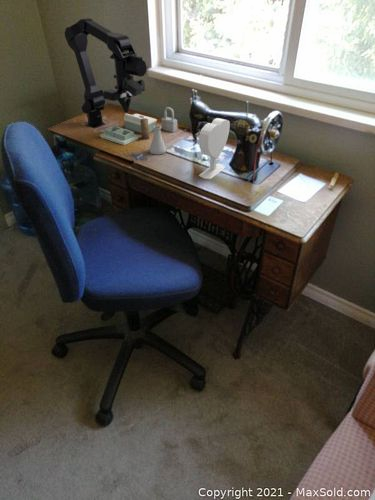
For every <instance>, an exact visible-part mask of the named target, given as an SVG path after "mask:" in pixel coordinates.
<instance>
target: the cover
mask: <svg viewBox="0 0 375 500" xmlns="http://www.w3.org/2000/svg"><path fill="white" fill-rule="evenodd" d="M143 118H146V119H148V125H149V124H151V123H154V122H156V123H157V122H158V119H156V118H154V117H151V116H146V115H143V114H139V113H134V114H129V113H128V112H127V113H126V112H125V113H124V117H123V121H124V120H125V121H128V122H131V123H135V124H138V125H141V119H143Z"/></svg>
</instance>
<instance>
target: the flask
mask: <svg viewBox="0 0 375 500" xmlns="http://www.w3.org/2000/svg"><path fill="white" fill-rule="evenodd" d="M153 129H154V131H153V137H152V140H151V144H150V147H149V150H148V152H149V154H152V155H164V154H166V153H167V152H168V150H167V147H166V145H165V143H164V139H163V136H162V132H161V130H162V125H157V126H153Z"/></svg>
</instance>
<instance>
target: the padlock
mask: <svg viewBox="0 0 375 500" xmlns="http://www.w3.org/2000/svg"><path fill="white" fill-rule="evenodd" d="M163 111H164V112H163V114H164V117H161V122H160V123H161V130H164V131H167V132H171V133H175V132H177V131H178V119H176V118H175V112H174V109H173V107H172V108H171V107H169V106H166V107H165V108H164V110H163ZM168 111H170V113H171V117H169V116H168Z"/></svg>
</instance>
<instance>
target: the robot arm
mask: <svg viewBox="0 0 375 500" xmlns="http://www.w3.org/2000/svg"><path fill="white" fill-rule="evenodd" d="M89 35H91V36H92V37H94V38H96V39H98V40H99V41H101V42H103V43H104V44H105V45H106V47H107V49H108V50H110V52H112V54H110V57H109V58H110V59H112V60H114V71H115V74H113V78H114V79H116V85H114V89H113V88H112V89H111V88H110V89H107V90H103V89H101V88H99V87H98V86H97V82H96V80H95V76H94V75H95V74H94V72H93V69H92V68H93V67H92V65H91V62H90V59H89V53H88V51H87V48H88V42H89V41H88V36H89ZM64 37H65V40H66V42H67V45H68V46H69V48H70V49H71V50H72V51H73V52H74V55H75V58H76V62H77V65H78V69H79V72H80V75H81V78H82V82H83V85H84V93H83V98H84V103H83V105H82V106H81V110H82V112H83V113H84V114H86V117H87V122H86V123H85V125H86V126H88V127H92V128H94V129H95V128H98V127H101V126H104V125H106V123H105V122H104V121H103V116H102V111H104V109H105V104H106V100H109V101H111V102H112V101H113V102H114V101H118V103H119V105H120V106H121V108H122V110H123V111H124V113H125V114H126V113H127V114H128V112H129V109H130V105H131V102H132V99H133V98H134V97H137V96H139V95H142V92H145V90H146V89H145V88H146V87H145V86H146V85H145V80H143V79H138V80H134V76H136V77H144V76H145V74H146V72H147V70H148V69H147V64H146V61H145V60H144V59H143V56H142V55H138V54H137V52H136V50H135V48H134V46H133V44H132V42H131V40H130V37H129V36H127V35H126V34H122V33H119V32H114V31H111V30H109V29H107V28H106V27H104V26H103V25H101V24H100V23H98V22H96V21H94V20H93V19H92V18H90V17H87V18H80V20H78V21H77V22H75V23H74V24H72V25H70V26H68V27H67V26H66V28H65V30H64Z"/></svg>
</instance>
